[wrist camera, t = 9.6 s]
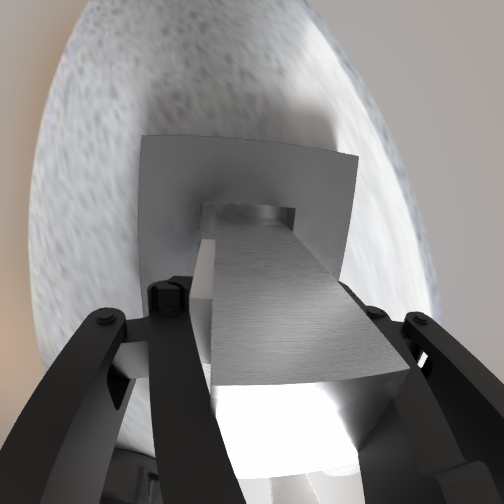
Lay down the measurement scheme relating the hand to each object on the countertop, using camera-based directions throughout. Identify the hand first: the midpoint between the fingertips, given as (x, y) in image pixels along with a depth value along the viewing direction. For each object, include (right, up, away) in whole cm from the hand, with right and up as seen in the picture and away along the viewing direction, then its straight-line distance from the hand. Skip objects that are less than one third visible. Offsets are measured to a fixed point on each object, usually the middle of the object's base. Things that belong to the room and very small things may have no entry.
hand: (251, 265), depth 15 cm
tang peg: (0, +1, +3) cm, 3 cm away
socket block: (-1, +2, +6) cm, 7 cm away
